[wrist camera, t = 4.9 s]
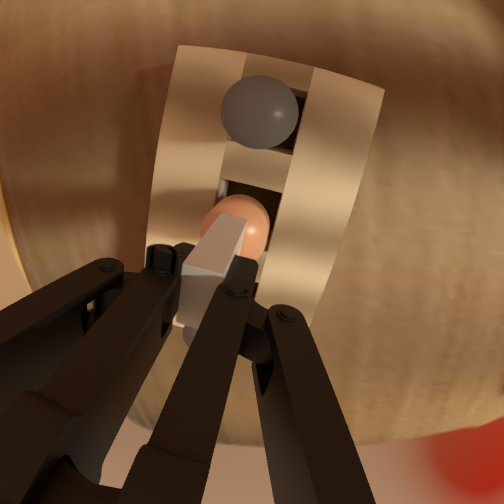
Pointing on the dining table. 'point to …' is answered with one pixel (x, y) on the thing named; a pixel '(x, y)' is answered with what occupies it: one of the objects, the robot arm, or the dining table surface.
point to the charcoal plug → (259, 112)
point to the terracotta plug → (255, 224)
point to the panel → (264, 166)
